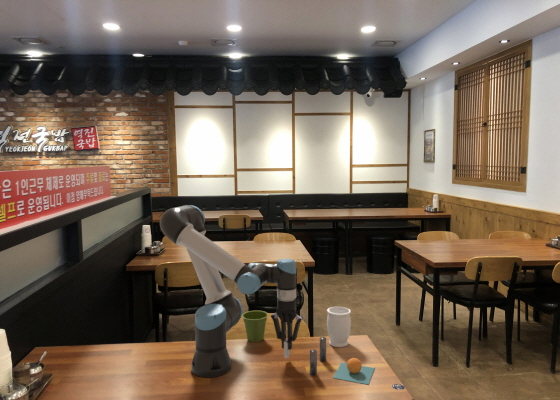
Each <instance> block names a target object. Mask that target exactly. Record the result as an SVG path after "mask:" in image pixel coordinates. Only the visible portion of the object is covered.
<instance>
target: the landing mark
mask: <svg viewBox="0 0 560 400" xmlns="http://www.w3.org/2000/svg"><path fill="white" fill-rule="evenodd" d="M374 372H375V367H370V366H366V365H365V366H364V365H362V368H361V370H360V372H359V373H356V374H353V373H351V372H350V371H349V370H348V369H347V362H340V364H339V366H338V368H337V370H336V371H335V372H334V375H333V376H332V379H335V380H342V381H345V382H351V383H356V384H357V383H358V384H361V385H362V384H363V385H367V386H369V385H370V381H371V379H372V377H373V374H374Z"/></svg>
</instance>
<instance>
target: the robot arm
mask: <svg viewBox="0 0 560 400" xmlns="http://www.w3.org/2000/svg"><path fill="white" fill-rule="evenodd" d="M205 222H206V218H205V214H204V211H202V210H201V208H199V207H197V206H195V205H192V204H191V205H189V204H188V205H187V204H185V205H182V206H177V207H171V208H169V209H167V210H165V211H164V212H163V213H162V215H161V216H160V219H159V227H160V230H161V231H162V234H163V235H164V236H165V237H166V238H167V239H168V240H170V241H171V242H173V244H175V245H177V246H183V247H184V248H186V252H187V254H188V256H189V259H190V261H191V263H192V266H193V268H194V270H195V273H196V275H197V278H198V280H199V283H200V285H201V288H202V289H203V293H204V294H205V297H206V300H205V302H204V305H203V306H201V307H199V308H197V310H196V311H195V314H194V317H195V318H194V330H195V331H194V336H195V341H194V342H195V350H194V355H193V356H192V357H193V358H192V360H191V363H190V364H191V366H190V368H191V372H192V374H194V375H195V376H197V377H201V378H215V377H220V376H223V375H225V374H227V373H228V372H230V370H232V360H231V357H230V354H229V351H228V348H227V333H228V332H229V331H230V330H231V329H232V328H233V327H235V326H236V325H238V323H239V322H240V320H241V318H242V314H243V306H242V303H241V301H240V300H239V298H236V297H235V296H233V293H232V291H231V290H228V289H227V288H226V286H225V283H224V281H223V279H222V276H221V274H223V275H225V276H226V277H227V278H229V279H230V280H231V281H233V282H234V283H236V286H237V289H238V290H239V291H240V293H242V294H244V295H251V294H253V293H255V292H257V291H258V290H259V289H261V287H263V286H264V285H265V284H276V294H277V295H276V298H277V302H276V305H277V306H276V308H277V309H276V312H274V313H272V314H271V315H270V318H271V319H272V322H273V325H274V329H275V334H276V338H277V340H281V349H283V358H284V359H288V358H289V357H290V356H291V350H292V349H293V342H295V341H296V340H297V338H298V335H299V331H300V330H299V329H300V327H301V326H300V325H301V323H302V321H303V319H304V318H303V316H300V315H298V312H297V299H296V298H297V262H296V261H295V260H294V259H292V258H281V259H278V260H276V263H264V262H251V263H248V265H247V264H246V263H244V262H243V261H241V260H240V259H238V258H237V257H235V256H234V255H232V254H231V253H229V252H228V251H227V250H225V249H224V248H222V247H221V246H219V245H218V244H216V243H215V242H213V240H211V239H209V238H208V237H206V236H205V235H206V232H207V231H206V229H205ZM279 320H280V321H279ZM294 320H295V323H294V328H293V322H294Z"/></svg>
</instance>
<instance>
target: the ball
mask: <svg viewBox="0 0 560 400" xmlns="http://www.w3.org/2000/svg"><path fill="white" fill-rule="evenodd" d="M346 363H347V369H348V370H349V371H350V372H351V373H353V374H356V373H359V372H360V370H361V368H362V366H363V365H362V362H361V360H359V358H356V357H351V358H350V359H348V360H347V362H346Z"/></svg>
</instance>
